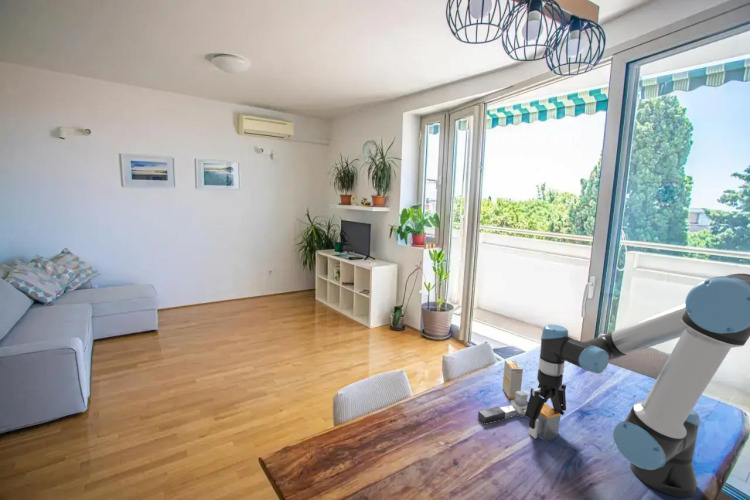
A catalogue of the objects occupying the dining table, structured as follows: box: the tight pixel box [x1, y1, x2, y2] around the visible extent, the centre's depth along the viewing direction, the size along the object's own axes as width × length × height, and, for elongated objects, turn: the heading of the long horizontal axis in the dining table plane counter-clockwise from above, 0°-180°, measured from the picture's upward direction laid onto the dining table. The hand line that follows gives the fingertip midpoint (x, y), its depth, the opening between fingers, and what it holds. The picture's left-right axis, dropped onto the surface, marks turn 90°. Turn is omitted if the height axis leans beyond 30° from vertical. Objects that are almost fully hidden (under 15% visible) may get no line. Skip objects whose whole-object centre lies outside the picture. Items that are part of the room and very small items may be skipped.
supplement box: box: [502, 359, 524, 400], centre depth 148 cm, size 8×5×13 cm, turn 179°
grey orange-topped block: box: [537, 403, 561, 442], centre depth 123 cm, size 6×6×9 cm
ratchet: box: [477, 390, 529, 425], centre depth 133 cm, size 22×7×8 cm, turn 113°
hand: (543, 432), depth 124 cm, fingers open, 9 cm apart
